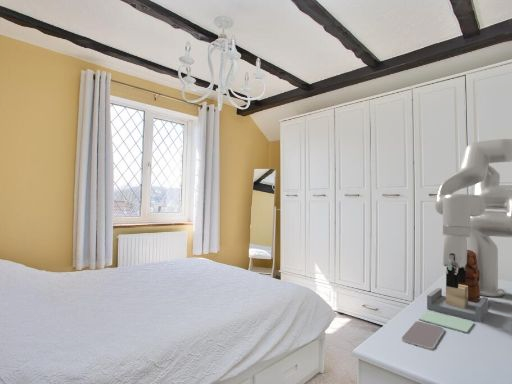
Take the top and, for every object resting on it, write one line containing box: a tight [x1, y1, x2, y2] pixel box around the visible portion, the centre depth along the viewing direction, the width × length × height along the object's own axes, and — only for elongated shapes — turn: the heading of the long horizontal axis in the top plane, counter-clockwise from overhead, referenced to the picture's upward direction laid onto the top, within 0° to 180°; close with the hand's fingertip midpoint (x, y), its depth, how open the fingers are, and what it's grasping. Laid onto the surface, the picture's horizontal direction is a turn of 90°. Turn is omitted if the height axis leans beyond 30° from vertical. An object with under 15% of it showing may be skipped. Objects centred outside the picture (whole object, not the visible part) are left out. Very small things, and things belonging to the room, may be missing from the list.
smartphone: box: [400, 320, 445, 351], centre depth 79 cm, size 7×1×15 cm
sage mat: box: [418, 310, 475, 334], centre depth 88 cm, size 9×12×1 cm
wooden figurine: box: [458, 250, 481, 303], centre depth 107 cm, size 12×6×18 cm, turn 129°
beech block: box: [445, 284, 468, 308], centre depth 97 cm, size 5×5×6 cm
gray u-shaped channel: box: [426, 287, 489, 323], centre depth 97 cm, size 12×14×4 cm
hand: (456, 284), depth 96 cm, fingers open, 9 cm apart
